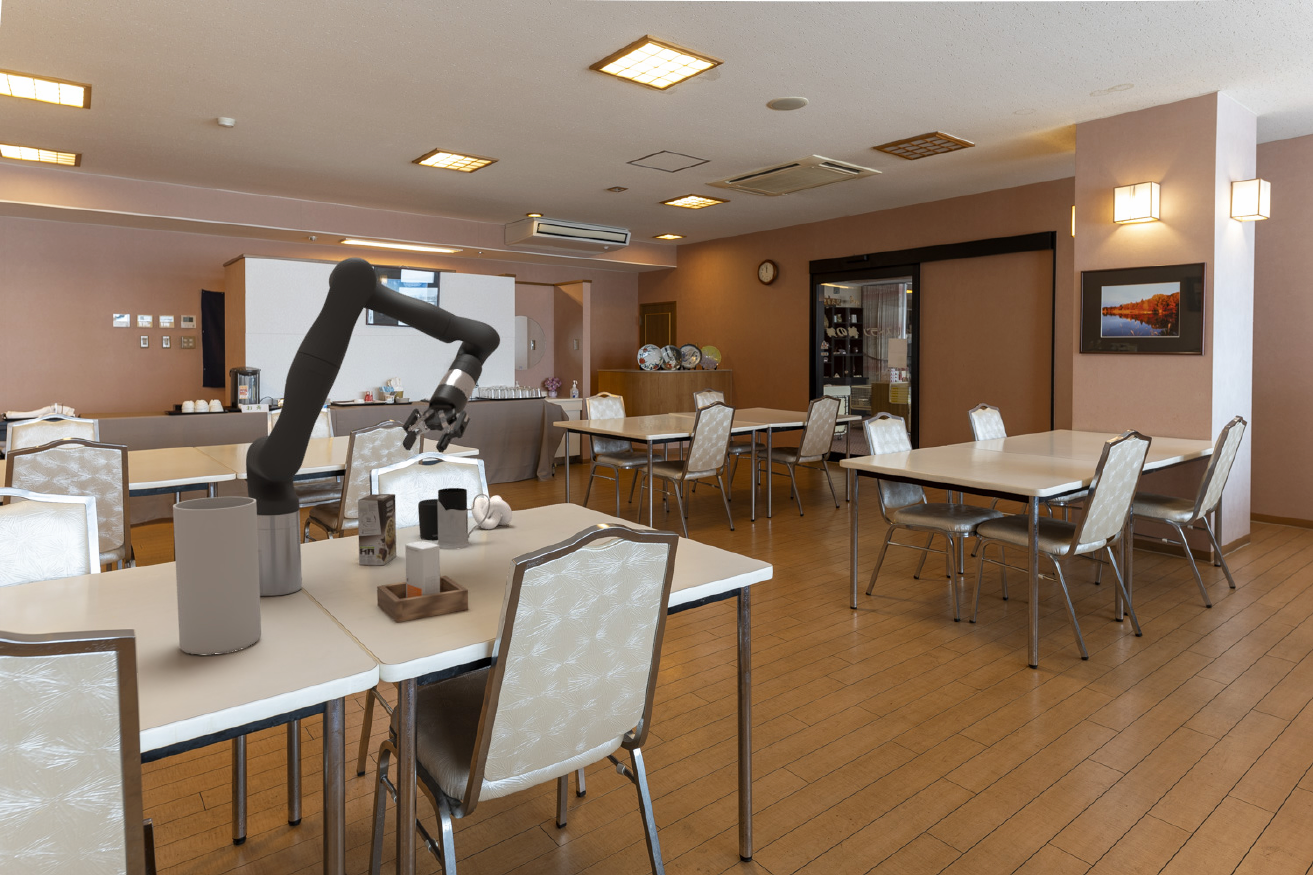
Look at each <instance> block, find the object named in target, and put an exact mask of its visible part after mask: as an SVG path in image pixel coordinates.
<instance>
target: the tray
mask: <svg viewBox="0 0 1313 875" xmlns="http://www.w3.org/2000/svg"><path fill="white" fill-rule="evenodd" d="M376 589H377V590H376V591H377V593H376V595H377V598H376V599H377V602H376V603H377V606H378V607H379V608H380V609H381V610H382V611H383V612H384V613H385V614H386V615H388V617H390V618H391V619H392V620H393V621H394V622H395V623H400V622H406V621H412V620H416V619H417V618H418V619H423V618H428V617H434V616H440V615H444V614H450V612H451V613H455V612H456V611H457V612H461V611H466V610H469V590H468V589H467V588H466V587H464V586H462V585H461V584H459V583H458V582H456V581H455V580H453V579H452V578H450V577H449V576H447V575H443V576H441V575H440V593H436V594H430V595H423V596H417V597H411V598H406V581H402V582H396V583H390V584H383V585H382V584H381V585H377V586H376ZM457 612H456V613H457ZM418 619H417V620H418Z"/></svg>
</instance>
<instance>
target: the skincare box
mask: <svg viewBox="0 0 1313 875" xmlns="http://www.w3.org/2000/svg"><path fill="white" fill-rule="evenodd" d="M440 559H441V558H440V548H439V545H437V544H435V543H432V542H427V541H423V540H421V541H414V542H409V543H406V544H405V582H406V598H411V597H417V596H423V595H430V594H436V593H440V577H441V573H440V572H441V571H440V569H441V567H440Z"/></svg>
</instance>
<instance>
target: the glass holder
mask: <svg viewBox="0 0 1313 875" xmlns="http://www.w3.org/2000/svg"><path fill="white" fill-rule="evenodd" d="M480 496H484V497H486V498H487V501H489V505H488V511H487V513H486V516H485V517H484V519H483V520H482V521H481V522H480V523H479V524H478V523H477V525H476V526H475V527H474V528H473V529H470V530H471V531H469V519H468V518H469V517H468V516H469V511H471V510H473V509H474V506H475V500H476V498H478V497H480ZM436 499H437V500H438V540H437V543H436V545H439V549H441V548H443V549H442V550H458V549H457V548H460V549H464V548H468V547H470V545H471V544H470V542H469V539H470V535H471V534H472V533H473V532H474V531H475V530H476V529H478V527H481V526H480V525H481V524H482V523H483V522H484V521H485V519H486V517H487V515H488V513H489V509H490V497H489V496H488V495H487V494H484V493H479V494H477V495H476V496H474V498H473V501H472V503H473V508H468V490H467V489H466V488H460V487H448V488H443V489H442V488H441V489H438V490H437V498H436Z"/></svg>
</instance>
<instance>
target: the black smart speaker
mask: <svg viewBox="0 0 1313 875" xmlns="http://www.w3.org/2000/svg"><path fill="white" fill-rule="evenodd" d="M437 499H438V498H432V499H429V498H428V499H423V500H420V501H419V502H418V504H417V505H418V508H417V510H418V525H419V526H418V527H419V537H420V538H421V539H422V540H425V541H426V540H428V541H438V500H437Z"/></svg>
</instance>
